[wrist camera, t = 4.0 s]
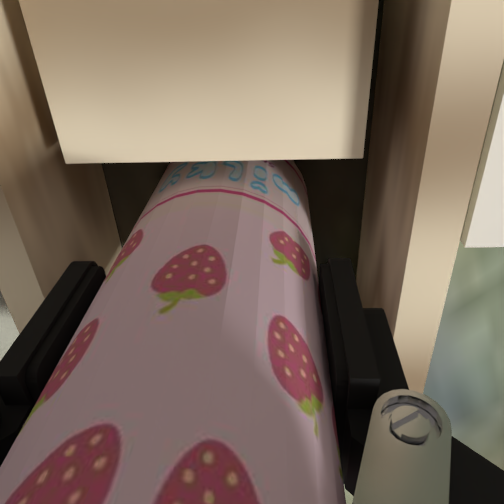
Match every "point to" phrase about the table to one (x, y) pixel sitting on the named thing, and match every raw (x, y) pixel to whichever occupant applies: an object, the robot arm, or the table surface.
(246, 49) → the offcut upper
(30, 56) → the frame
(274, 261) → the beverage can
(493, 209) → the pad
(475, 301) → the table surface
